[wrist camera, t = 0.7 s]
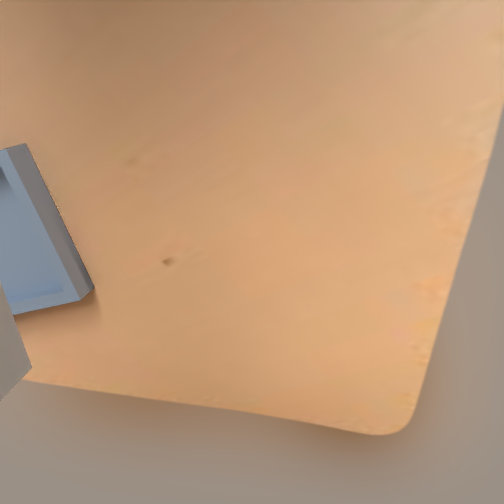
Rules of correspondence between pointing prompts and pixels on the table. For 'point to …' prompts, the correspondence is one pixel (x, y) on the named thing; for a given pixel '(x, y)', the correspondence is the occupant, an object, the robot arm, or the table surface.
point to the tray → (34, 240)
